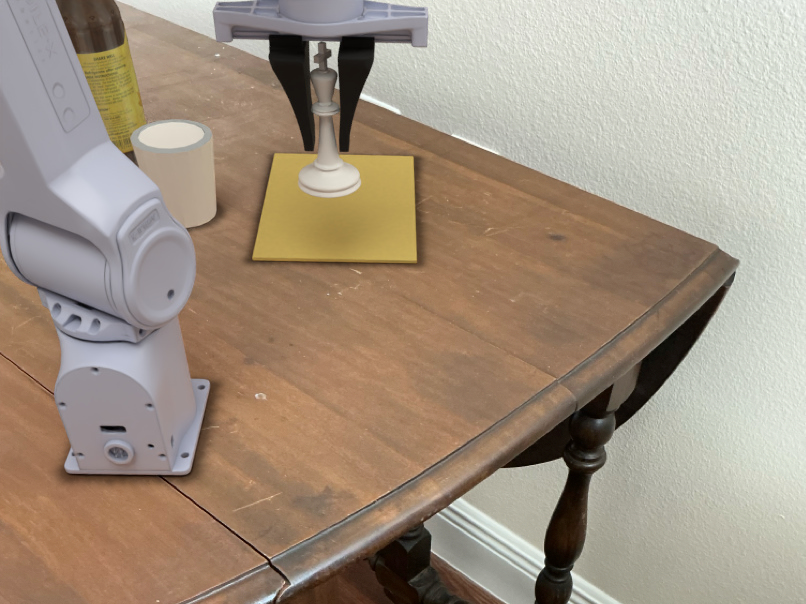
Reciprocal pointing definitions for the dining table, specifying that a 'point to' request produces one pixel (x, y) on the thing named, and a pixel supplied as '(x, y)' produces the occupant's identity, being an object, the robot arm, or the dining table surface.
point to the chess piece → (327, 139)
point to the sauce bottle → (106, 66)
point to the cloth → (340, 214)
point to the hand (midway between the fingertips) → (327, 146)
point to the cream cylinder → (179, 167)
